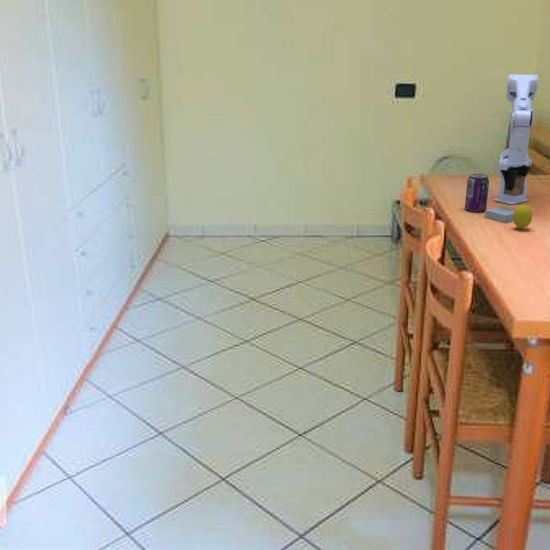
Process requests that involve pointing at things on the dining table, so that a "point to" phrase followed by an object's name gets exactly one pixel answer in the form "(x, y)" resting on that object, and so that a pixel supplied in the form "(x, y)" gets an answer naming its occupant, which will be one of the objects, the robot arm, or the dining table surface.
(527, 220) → the lemon
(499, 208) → the grey base
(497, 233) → the dining table surface
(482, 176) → the beverage can
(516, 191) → the walnut block
